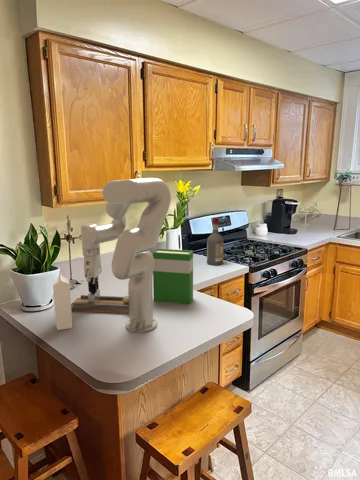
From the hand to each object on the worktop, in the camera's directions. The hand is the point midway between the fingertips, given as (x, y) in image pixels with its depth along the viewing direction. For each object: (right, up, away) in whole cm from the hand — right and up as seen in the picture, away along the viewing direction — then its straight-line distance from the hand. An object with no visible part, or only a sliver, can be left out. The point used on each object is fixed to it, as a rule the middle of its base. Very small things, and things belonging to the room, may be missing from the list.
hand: (93, 290), depth 162 cm
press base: (+6, -8, +1) cm, 10 cm away
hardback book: (+36, -6, +10) cm, 38 cm away
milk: (-8, -12, -17) cm, 22 cm away
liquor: (+62, +7, +70) cm, 94 cm away
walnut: (+15, -4, -1) cm, 16 cm away
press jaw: (0, -6, +1) cm, 6 cm away
